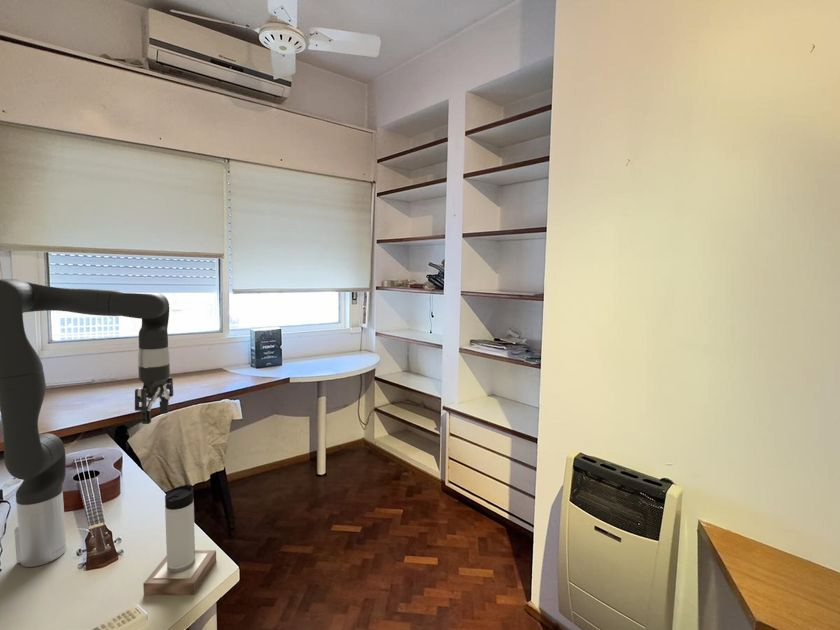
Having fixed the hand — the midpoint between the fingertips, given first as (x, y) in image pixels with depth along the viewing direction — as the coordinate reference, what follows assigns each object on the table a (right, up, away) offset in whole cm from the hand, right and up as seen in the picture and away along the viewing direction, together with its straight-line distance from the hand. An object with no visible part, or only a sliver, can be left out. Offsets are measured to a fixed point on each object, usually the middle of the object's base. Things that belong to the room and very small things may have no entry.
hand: (155, 418), depth 120 cm
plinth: (+15, -38, -13) cm, 43 cm away
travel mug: (+15, -35, -13) cm, 40 cm away
